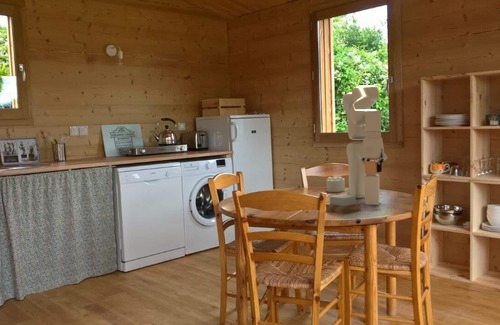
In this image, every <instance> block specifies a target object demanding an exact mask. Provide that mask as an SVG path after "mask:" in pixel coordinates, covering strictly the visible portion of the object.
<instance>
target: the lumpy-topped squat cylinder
mask: <svg viewBox="0 0 500 325" xmlns="http://www.w3.org/2000/svg"><path fill="white" fill-rule="evenodd" d="M345 189H346V180H345V178H343V177H342V176H332V177H331V176H328V177H327V179H326V192H328V193H341V192H345V191H344V190H345Z"/></svg>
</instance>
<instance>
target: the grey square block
mask: <svg viewBox="0 0 500 325" xmlns="http://www.w3.org/2000/svg"><path fill="white" fill-rule="evenodd" d="M356 199H357V198H356V196H353V195H346V194H344V193H340V194H336V195H331V196H329V204H331V205H338V206H348V205H353V204H356V203H357V200H356Z"/></svg>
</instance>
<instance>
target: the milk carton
mask: <svg viewBox="0 0 500 325" xmlns="http://www.w3.org/2000/svg"><path fill="white" fill-rule="evenodd" d="M364 183H365V198H364V205H367V206H368V205H372V206H373V205H374V206H375V205H376V206H377V205H378V206H379V205H380V198H381V197H380V174H366V175H365V177H364Z"/></svg>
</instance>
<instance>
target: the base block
mask: <svg viewBox="0 0 500 325" xmlns="http://www.w3.org/2000/svg"><path fill="white" fill-rule="evenodd" d="M325 211H326V212H329V213H334V214H335V213H336V214H341V215H347V214H351V213H356V212H359V211H361V203H359V202H356V204H353V205H348V206H338V205H331V204H330V203H326V204H325Z"/></svg>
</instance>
